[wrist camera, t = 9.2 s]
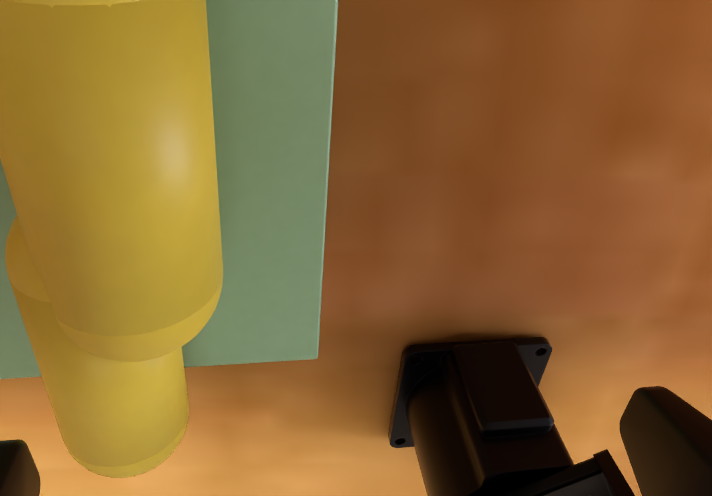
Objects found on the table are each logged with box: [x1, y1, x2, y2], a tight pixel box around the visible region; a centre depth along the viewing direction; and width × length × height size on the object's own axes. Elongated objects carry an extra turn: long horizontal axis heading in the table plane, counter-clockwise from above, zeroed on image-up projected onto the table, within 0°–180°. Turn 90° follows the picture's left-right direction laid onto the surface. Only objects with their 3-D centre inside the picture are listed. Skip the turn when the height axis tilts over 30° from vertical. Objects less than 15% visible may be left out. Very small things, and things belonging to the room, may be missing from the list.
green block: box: [0, 0, 338, 379], centre depth 14 cm, size 16×9×5 cm, turn 176°
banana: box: [0, 0, 223, 478], centre depth 11 cm, size 19×4×4 cm, turn 175°
